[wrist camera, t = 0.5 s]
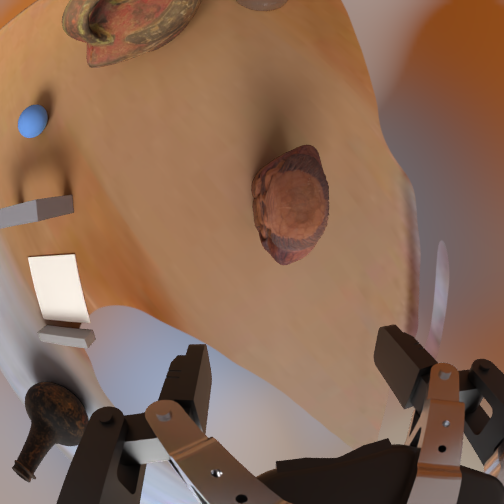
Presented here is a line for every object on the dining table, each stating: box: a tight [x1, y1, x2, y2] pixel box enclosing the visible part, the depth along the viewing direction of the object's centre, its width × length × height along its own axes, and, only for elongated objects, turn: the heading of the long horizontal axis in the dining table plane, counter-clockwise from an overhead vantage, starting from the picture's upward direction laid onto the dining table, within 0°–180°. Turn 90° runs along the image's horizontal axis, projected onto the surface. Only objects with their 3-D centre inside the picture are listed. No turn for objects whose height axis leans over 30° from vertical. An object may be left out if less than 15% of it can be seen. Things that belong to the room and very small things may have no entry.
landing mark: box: [28, 254, 91, 323], centre depth 40 cm, size 13×13×1 cm
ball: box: [18, 105, 48, 138], centre depth 30 cm, size 6×6×6 cm
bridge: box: [0, 195, 74, 228], centre depth 32 cm, size 3×15×10 cm, turn 92°
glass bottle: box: [12, 382, 89, 482], centre depth 34 cm, size 18×18×28 cm
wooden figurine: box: [252, 145, 329, 265], centre depth 29 cm, size 12×6×18 cm, turn 1°
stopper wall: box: [38, 325, 96, 348], centre depth 41 cm, size 2×13×4 cm, turn 92°
